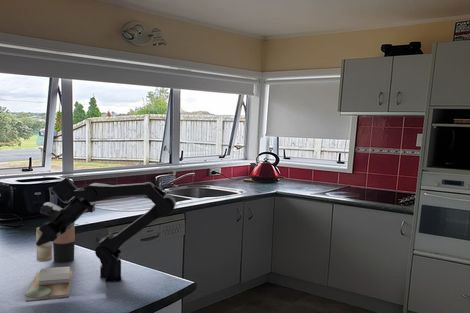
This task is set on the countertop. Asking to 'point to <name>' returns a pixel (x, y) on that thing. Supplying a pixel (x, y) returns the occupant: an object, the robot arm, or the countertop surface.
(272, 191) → the countertop surface
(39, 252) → the roller
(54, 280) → the slab
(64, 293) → the wooden board
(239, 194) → the countertop surface
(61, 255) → the travel mug
